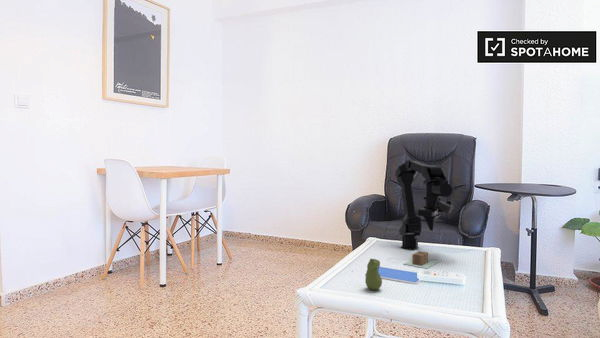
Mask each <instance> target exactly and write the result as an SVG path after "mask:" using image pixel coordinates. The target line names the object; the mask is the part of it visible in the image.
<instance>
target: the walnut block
mask: <svg viewBox="0 0 600 338" xmlns="http://www.w3.org/2000/svg"><path fill="white" fill-rule="evenodd" d="M428 259H429V252H427V251H421V250H418V251H416V252H415V253H413V254H412V259H411V260H412V264H415V265H421V266H422V265H424V264H426V263H428Z"/></svg>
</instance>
